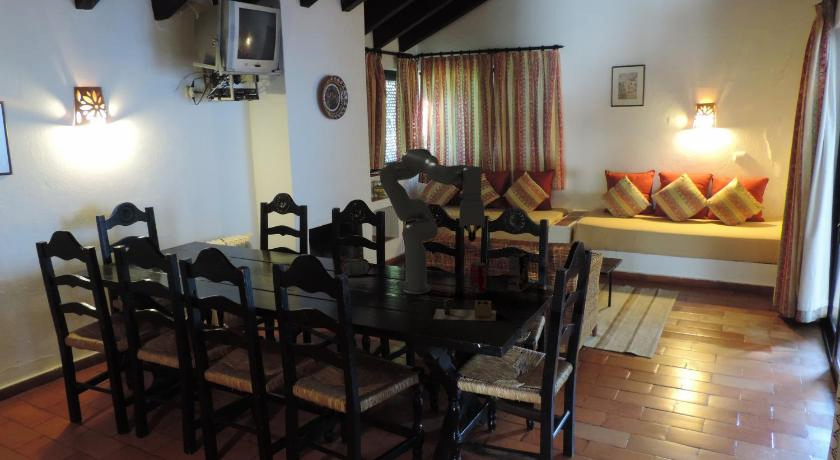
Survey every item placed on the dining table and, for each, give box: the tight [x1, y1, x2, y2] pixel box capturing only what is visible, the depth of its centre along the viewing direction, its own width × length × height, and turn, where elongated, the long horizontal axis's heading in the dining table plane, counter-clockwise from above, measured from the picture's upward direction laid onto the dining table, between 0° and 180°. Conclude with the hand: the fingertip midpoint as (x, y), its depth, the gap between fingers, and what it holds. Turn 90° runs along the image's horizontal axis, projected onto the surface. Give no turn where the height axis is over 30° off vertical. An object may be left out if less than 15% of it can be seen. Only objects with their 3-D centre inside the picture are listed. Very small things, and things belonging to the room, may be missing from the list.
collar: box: [473, 299, 492, 318], centre depth 235 cm, size 6×6×5 cm
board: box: [432, 299, 497, 322], centre depth 236 cm, size 24×12×7 cm, turn 83°
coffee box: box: [507, 252, 530, 293], centre depth 272 cm, size 9×6×16 cm
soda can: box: [469, 261, 487, 295], centre depth 269 cm, size 7×7×13 cm
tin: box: [339, 258, 371, 277], centre depth 301 cm, size 15×3×8 cm, turn 106°
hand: (472, 241), depth 248 cm, fingers closed
